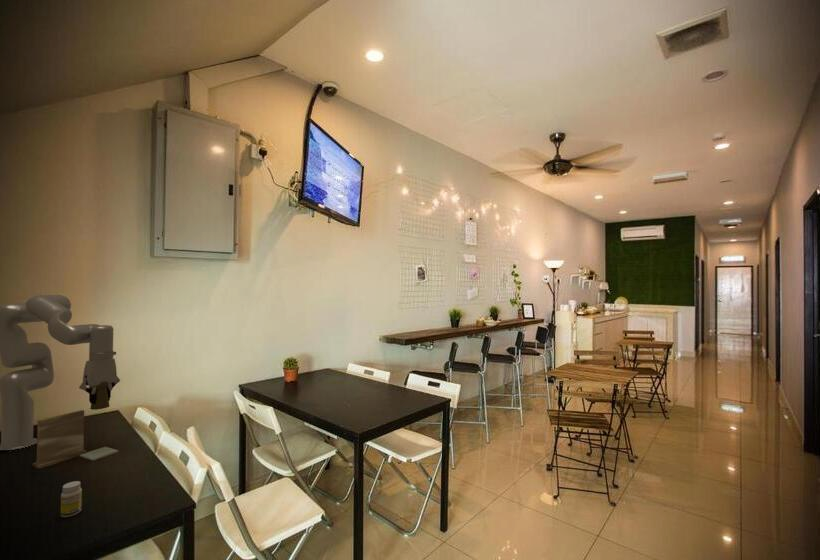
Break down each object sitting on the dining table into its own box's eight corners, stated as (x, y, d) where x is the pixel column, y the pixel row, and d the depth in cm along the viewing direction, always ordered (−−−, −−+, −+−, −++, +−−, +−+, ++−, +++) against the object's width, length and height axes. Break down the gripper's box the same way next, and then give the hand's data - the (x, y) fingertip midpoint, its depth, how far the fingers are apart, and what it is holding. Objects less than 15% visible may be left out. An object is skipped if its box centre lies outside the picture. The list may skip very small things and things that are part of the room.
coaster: (79, 456, 154) (79, 455, 154) (105, 448, 162) (105, 446, 162) (92, 460, 150) (92, 459, 150) (118, 451, 158) (118, 450, 158)
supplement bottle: (69, 508, 117) (69, 480, 118) (85, 508, 118) (86, 479, 118) (56, 518, 113) (56, 488, 113) (73, 517, 113) (74, 488, 113)
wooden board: (32, 466, 145) (33, 420, 146) (80, 451, 159) (81, 409, 159) (39, 468, 143) (40, 422, 144) (87, 453, 157) (88, 410, 157)
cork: (98, 410, 153) (99, 382, 153) (86, 409, 154) (86, 381, 154) (113, 405, 159) (113, 378, 159) (101, 404, 160) (101, 377, 160)
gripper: (118, 352, 166) (117, 395, 166) (70, 358, 151) (69, 406, 150) (129, 353, 163) (128, 397, 163) (81, 360, 148) (80, 409, 147)
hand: (100, 401), depth 156 cm, fingers closed on cork, 4 cm apart
